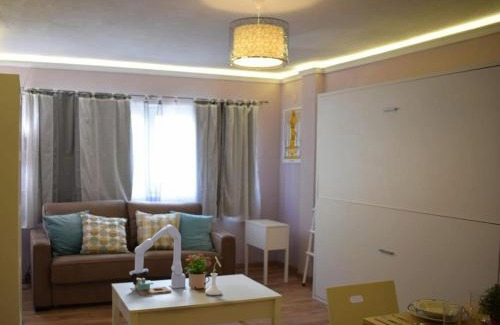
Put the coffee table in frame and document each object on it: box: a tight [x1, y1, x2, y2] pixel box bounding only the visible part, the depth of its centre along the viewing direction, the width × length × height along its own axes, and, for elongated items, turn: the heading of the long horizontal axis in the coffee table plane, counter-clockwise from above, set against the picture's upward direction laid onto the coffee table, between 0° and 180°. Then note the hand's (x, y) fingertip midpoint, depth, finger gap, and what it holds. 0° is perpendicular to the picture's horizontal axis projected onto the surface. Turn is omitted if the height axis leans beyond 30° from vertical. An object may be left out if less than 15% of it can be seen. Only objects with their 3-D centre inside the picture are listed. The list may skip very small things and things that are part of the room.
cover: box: [138, 278, 154, 290], centre depth 342 cm, size 8×8×8 cm
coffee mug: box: [204, 273, 210, 285], centre depth 359 cm, size 12×9×10 cm
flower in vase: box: [204, 256, 223, 296], centre depth 344 cm, size 13×11×25 cm
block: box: [133, 277, 142, 288], centre depth 352 cm, size 4×4×6 cm
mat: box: [129, 287, 138, 292], centre depth 352 cm, size 10×8×1 cm
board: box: [136, 286, 172, 297], centre depth 345 cm, size 20×12×2 cm, turn 119°
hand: (138, 283), depth 352 cm, fingers open, 6 cm apart
